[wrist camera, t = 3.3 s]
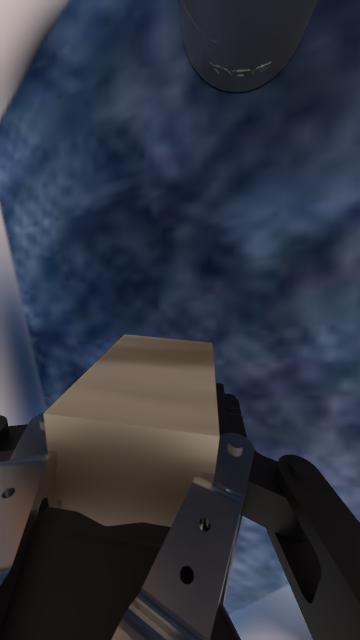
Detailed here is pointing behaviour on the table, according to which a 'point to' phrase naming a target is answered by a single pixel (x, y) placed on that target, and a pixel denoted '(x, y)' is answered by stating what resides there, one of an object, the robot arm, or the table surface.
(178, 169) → the table surface
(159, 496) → the maple block
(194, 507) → the robot arm
